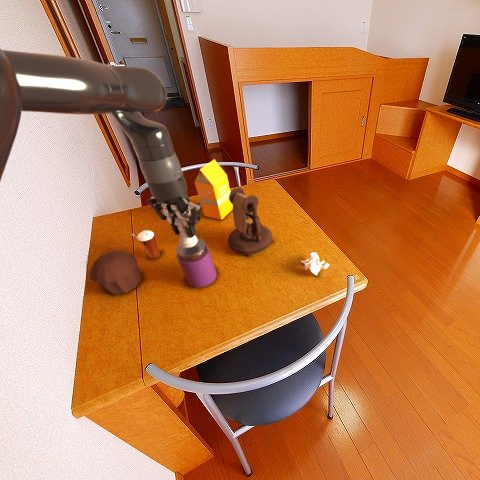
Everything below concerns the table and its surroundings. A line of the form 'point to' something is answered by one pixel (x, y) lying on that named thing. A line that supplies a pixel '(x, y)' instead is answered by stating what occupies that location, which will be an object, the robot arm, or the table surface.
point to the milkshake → (148, 243)
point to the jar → (199, 270)
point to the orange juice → (213, 191)
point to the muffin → (116, 272)
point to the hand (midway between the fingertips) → (185, 234)
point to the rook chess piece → (185, 235)
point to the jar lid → (192, 251)
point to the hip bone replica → (314, 264)
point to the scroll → (247, 225)
